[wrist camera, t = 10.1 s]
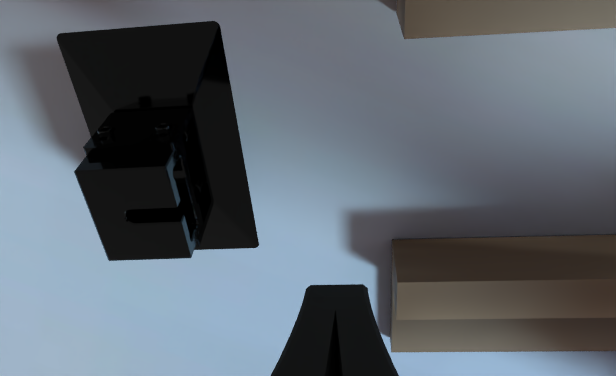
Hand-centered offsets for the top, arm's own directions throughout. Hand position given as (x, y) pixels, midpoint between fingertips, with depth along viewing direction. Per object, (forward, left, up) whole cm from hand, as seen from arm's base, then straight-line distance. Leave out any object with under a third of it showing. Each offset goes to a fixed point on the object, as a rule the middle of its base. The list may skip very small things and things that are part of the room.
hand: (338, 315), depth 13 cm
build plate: (0, +6, -9) cm, 11 cm away
